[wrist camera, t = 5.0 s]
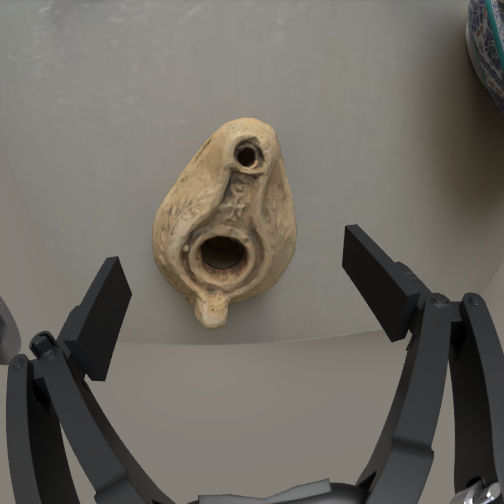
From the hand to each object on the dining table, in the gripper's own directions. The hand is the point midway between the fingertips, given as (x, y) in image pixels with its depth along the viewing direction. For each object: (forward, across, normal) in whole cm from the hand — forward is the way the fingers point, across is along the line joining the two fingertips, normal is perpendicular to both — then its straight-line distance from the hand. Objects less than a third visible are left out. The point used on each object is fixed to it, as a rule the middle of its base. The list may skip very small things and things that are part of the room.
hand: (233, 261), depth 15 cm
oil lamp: (+9, 0, 0) cm, 9 cm away
